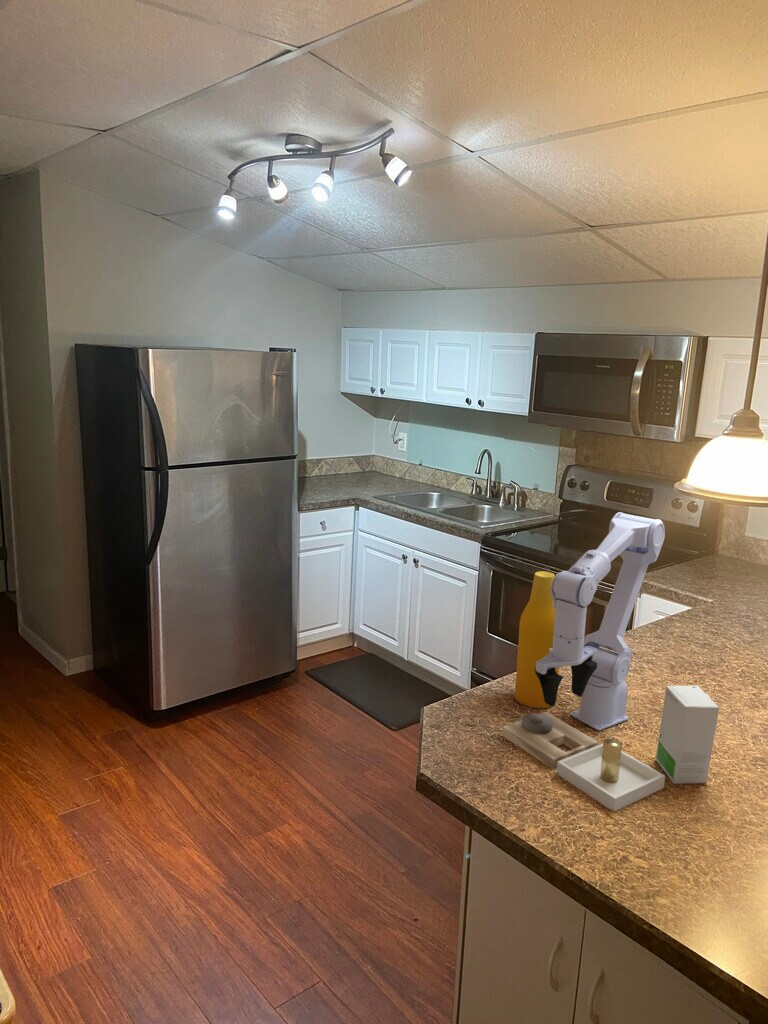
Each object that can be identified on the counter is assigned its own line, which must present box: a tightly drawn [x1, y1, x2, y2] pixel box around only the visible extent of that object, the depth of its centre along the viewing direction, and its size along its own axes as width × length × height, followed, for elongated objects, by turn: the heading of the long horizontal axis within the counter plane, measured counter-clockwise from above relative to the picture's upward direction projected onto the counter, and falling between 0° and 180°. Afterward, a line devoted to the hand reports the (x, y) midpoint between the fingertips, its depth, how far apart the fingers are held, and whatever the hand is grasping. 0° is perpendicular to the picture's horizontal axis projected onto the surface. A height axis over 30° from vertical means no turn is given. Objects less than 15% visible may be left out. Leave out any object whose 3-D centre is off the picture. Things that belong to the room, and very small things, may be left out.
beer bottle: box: [514, 570, 560, 709], centre depth 161 cm, size 9×9×29 cm
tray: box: [556, 743, 666, 813], centre depth 134 cm, size 13×13×2 cm
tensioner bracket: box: [501, 711, 599, 770], centre depth 146 cm, size 12×14×4 cm
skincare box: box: [655, 685, 720, 785], centre depth 136 cm, size 8×7×16 cm
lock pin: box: [600, 738, 623, 783], centre depth 134 cm, size 3×3×7 cm
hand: (563, 699), depth 145 cm, fingers open, 7 cm apart
